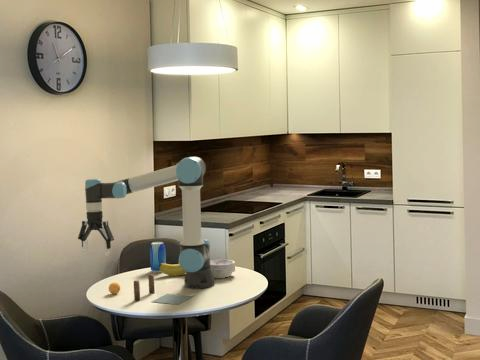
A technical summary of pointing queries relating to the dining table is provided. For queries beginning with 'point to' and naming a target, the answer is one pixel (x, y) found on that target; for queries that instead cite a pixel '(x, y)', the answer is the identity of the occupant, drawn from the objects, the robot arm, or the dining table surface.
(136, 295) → the post
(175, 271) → the banana
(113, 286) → the ball
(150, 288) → the post
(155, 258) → the beer can
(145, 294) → the dining table surface
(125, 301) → the dining table surface
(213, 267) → the paper bowls
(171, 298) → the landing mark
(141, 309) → the dining table surface
